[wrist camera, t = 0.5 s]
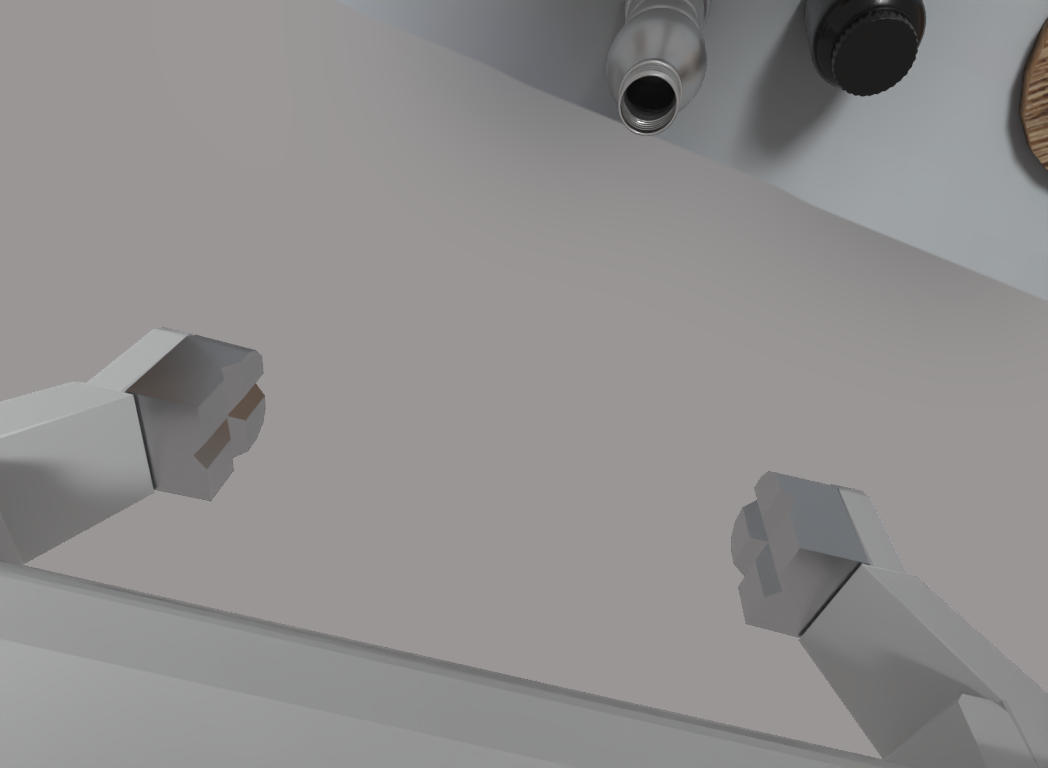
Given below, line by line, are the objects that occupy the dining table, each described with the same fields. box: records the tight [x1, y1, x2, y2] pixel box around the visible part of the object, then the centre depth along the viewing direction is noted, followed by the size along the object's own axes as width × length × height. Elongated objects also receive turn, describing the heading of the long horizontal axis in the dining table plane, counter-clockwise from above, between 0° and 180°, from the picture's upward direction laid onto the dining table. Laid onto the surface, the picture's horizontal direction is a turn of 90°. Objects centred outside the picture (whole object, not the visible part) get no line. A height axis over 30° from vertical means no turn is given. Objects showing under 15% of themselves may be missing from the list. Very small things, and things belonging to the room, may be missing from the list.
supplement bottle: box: [804, 0, 926, 96], centre depth 43 cm, size 7×7×12 cm
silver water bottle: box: [606, 0, 710, 136], centre depth 43 cm, size 6×7×20 cm
